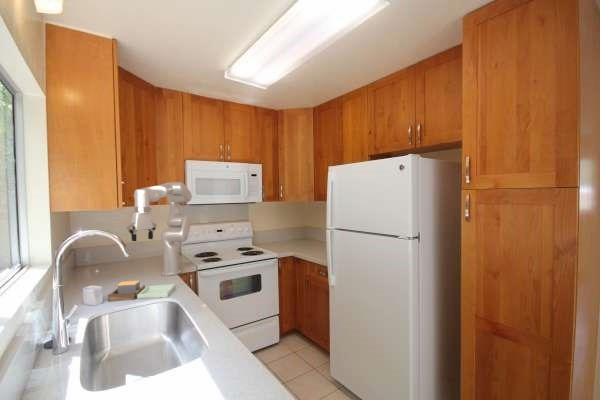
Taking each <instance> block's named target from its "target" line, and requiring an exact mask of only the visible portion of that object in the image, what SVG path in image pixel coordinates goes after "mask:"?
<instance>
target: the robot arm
mask: <svg viewBox="0 0 600 400" xmlns="http://www.w3.org/2000/svg"><path fill="white" fill-rule="evenodd" d="M192 196H193V195H192V193H191V191H190V189H189V188H188V187H187V185H186V184H185V183H183V181H170V182H165V183H162V184H158V185H153V186H148V187H142V188H137V189H135V190H134V192H133V198H134V213H133V212H132V216H131V224H128V225H127V226H126V229H127V232H128V233H130V235H131V236H130V237H131V241H132V242H137V232H138V231H148V232H147V233H148V234H147V239H148V240H153V238H154V232H155V230H156V228H157V226H158V225H157V223H155V222H153V217H152V213H151V211H152V208H150V207H151V206H150V203H155V202H158V201H160V199H162V198H166V199H167V202H168V204H169V213H168V217H167V220H166V226H167V227H168V228H164V229H163V230H161V232H160V237H161V242H162V255H163V257H162V259H163V271H162V272H161V276H165V277H166V276H167V277H169V276H175V275H179V274H181V273H182V270H181V269H179V268H180V267H179V265H180V264H179V247H178V245H177V243H179V242H180V243H182V242H186V241H187V240H188V238H189V233H190V229H191V225H192V224H191V223H192V218H191V216H190V215H189V214H186V213H185V214H183V211H184V210H183V209H184V208H182V205H181V204H180V203H189V202H191V200H192Z"/></svg>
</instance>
